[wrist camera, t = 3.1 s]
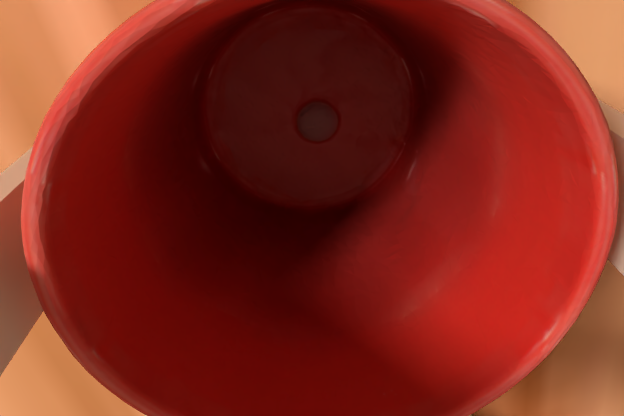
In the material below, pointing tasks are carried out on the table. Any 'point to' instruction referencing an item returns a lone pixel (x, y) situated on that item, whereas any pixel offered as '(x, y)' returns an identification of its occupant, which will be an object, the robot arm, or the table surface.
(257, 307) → the flower pot
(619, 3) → the table surface
